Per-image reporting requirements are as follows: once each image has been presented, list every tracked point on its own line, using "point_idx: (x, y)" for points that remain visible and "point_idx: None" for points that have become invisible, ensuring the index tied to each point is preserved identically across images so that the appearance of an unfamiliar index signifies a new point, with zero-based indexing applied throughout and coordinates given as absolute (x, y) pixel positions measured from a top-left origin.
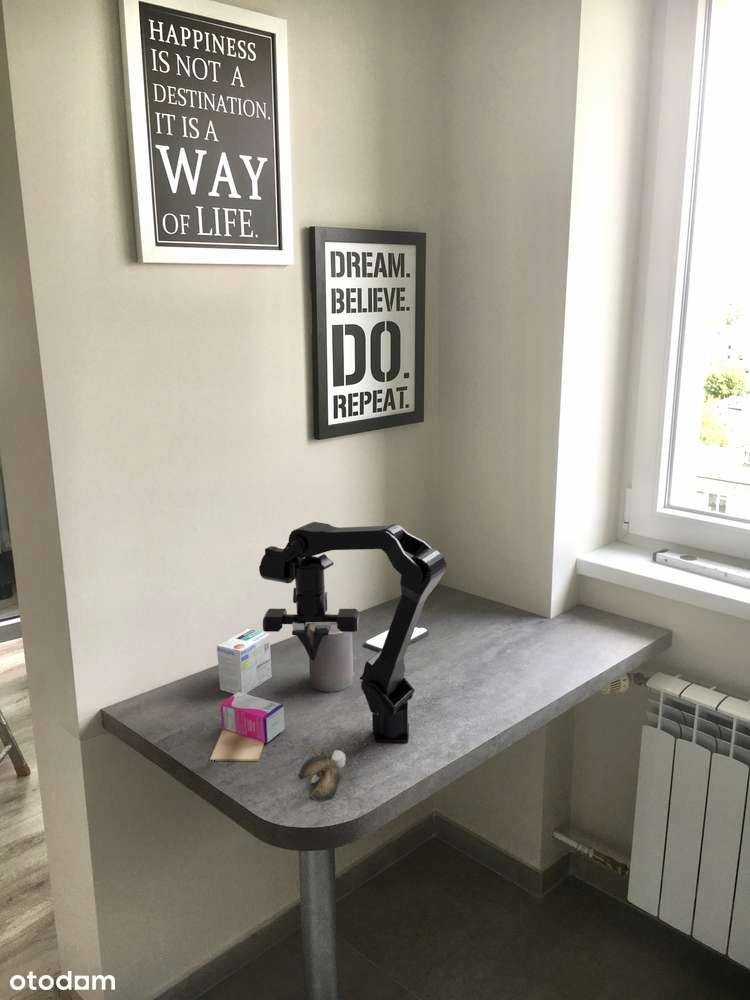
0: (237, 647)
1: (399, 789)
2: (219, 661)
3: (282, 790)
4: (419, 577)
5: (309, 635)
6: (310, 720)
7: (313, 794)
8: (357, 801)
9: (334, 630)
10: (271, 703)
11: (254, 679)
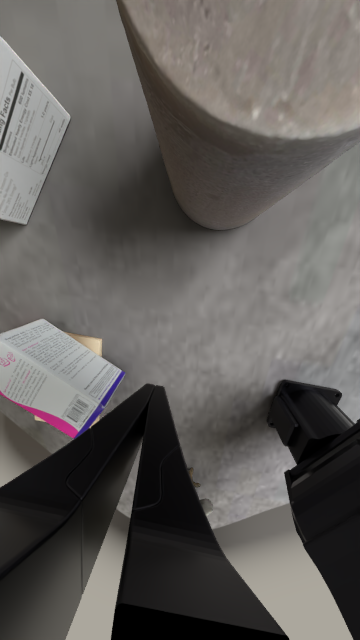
0: None
1: (269, 507)
2: None
3: (135, 482)
4: None
5: (74, 564)
6: (169, 342)
7: None
8: (216, 512)
9: (354, 43)
10: (78, 400)
11: (24, 176)
